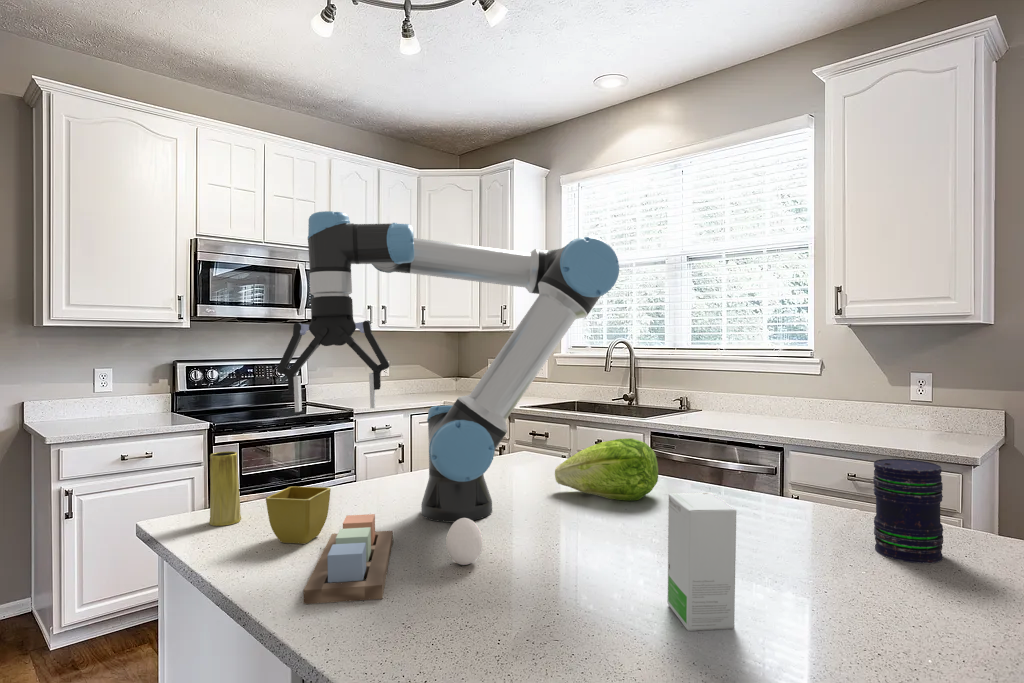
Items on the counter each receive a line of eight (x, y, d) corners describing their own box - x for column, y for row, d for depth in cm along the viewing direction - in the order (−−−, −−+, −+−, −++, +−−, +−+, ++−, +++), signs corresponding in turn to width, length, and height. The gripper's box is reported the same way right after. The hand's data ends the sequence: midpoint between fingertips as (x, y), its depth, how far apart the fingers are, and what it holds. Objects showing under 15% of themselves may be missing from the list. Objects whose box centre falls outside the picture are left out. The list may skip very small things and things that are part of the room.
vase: (214, 528, 127) (212, 457, 127) (205, 522, 131) (203, 453, 131) (245, 522, 131) (244, 453, 131) (235, 516, 135) (234, 449, 135)
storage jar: (933, 546, 109) (932, 460, 109) (952, 566, 100) (951, 472, 100) (868, 541, 112) (867, 457, 112) (881, 560, 103) (879, 468, 103)
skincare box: (666, 604, 87) (665, 492, 87) (713, 602, 88) (711, 490, 88) (688, 633, 79) (686, 509, 79) (739, 630, 80) (737, 507, 79)
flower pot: (309, 549, 113) (308, 499, 113) (265, 546, 115) (264, 497, 115) (332, 533, 122) (331, 487, 122) (291, 531, 124) (290, 486, 124)
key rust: (375, 536, 114) (374, 514, 114) (372, 545, 109) (372, 522, 109) (346, 537, 113) (346, 515, 113) (343, 546, 108) (342, 523, 108)
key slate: (366, 568, 98) (365, 542, 98) (362, 580, 93) (362, 553, 93) (333, 570, 97) (332, 544, 97) (328, 582, 92) (327, 555, 92)
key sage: (371, 550, 106) (370, 527, 106) (368, 561, 101) (367, 536, 101) (340, 552, 105) (340, 528, 105) (336, 563, 100) (335, 538, 100)
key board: (393, 541, 117) (393, 530, 117) (382, 598, 91) (382, 584, 91) (332, 544, 115) (331, 533, 115) (303, 604, 90) (303, 590, 90)
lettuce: (565, 456, 161) (545, 435, 149) (661, 447, 152) (647, 425, 141) (564, 512, 154) (543, 495, 142) (665, 506, 145) (651, 488, 133)
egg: (441, 561, 106) (440, 515, 106) (475, 555, 108) (474, 511, 108) (452, 573, 100) (452, 525, 100) (488, 567, 103) (487, 520, 103)
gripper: (399, 295, 124) (403, 403, 124) (266, 299, 120) (271, 410, 120) (398, 292, 116) (402, 408, 116) (256, 296, 113) (261, 415, 113)
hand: (336, 409), depth 118 cm, fingers open, 13 cm apart
